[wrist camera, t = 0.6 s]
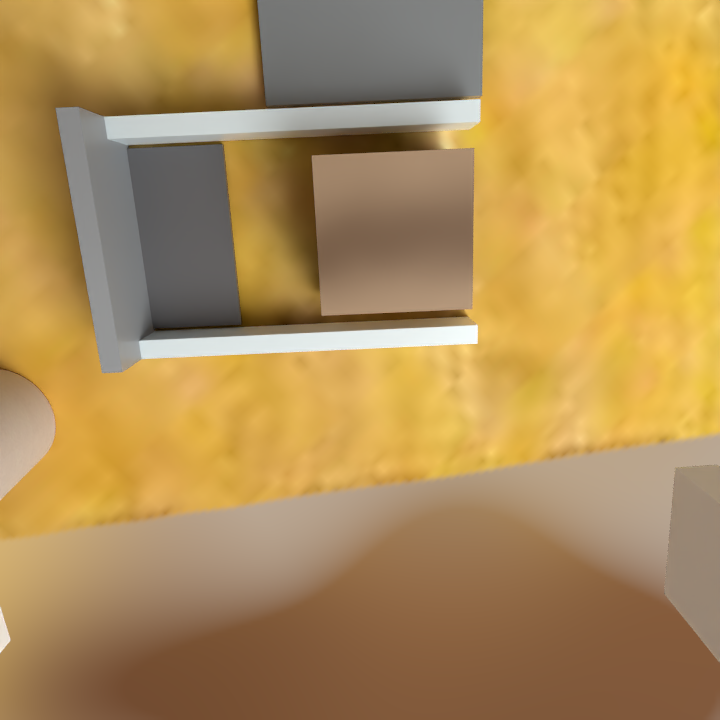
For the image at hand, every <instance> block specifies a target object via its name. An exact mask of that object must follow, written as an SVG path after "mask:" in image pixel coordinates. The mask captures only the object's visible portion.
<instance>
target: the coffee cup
mask: <svg viewBox="0 0 720 720" xmlns="http://www.w3.org/2000/svg"><path fill="white" fill-rule="evenodd" d="M55 429H56V426H55V418H54V414H53V411H52V408H51V406H50V404H49V402H48V400H47V399H46V397H45V396H44V394H43V393H42V392H41V391H40V390H39V389H38V388H37V387H36V386H35V385H34V384H33V383H32V382H30V381H29V380H27V379H26V378H24V377H22V376H20V375H18V374H16V373H13V372H11V371H7V370H3V369H0V500H1V499H2V498H3V497H4V496H5V495H6V494H7V493H8V492H9V491H10V490H11V489H12V488H13V487H14V486H15V485H16V484H17V483H18V482H19V481H20V480H21V479H22V478H23V477H24V476H25V475H26V474H27V473H28V472H29V471H30V470H31V469H32V468H33V467H34V466H35V465H36V464H37V463H38V462H39V461H40V460H41V459H42V458H43V457H44V456H45V454H46V453H47V452H48V451H49V449H50V447H51V445H52V443H53V440H54V437H55Z"/></svg>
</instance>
